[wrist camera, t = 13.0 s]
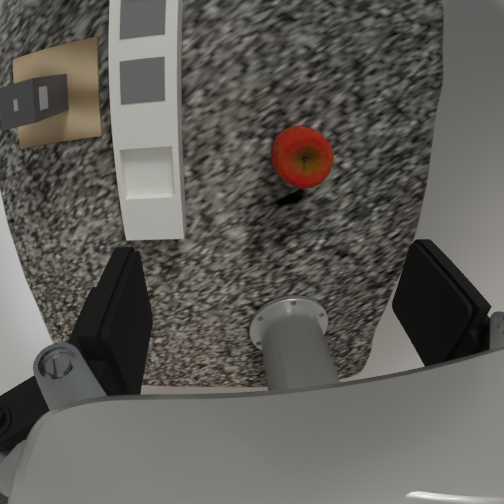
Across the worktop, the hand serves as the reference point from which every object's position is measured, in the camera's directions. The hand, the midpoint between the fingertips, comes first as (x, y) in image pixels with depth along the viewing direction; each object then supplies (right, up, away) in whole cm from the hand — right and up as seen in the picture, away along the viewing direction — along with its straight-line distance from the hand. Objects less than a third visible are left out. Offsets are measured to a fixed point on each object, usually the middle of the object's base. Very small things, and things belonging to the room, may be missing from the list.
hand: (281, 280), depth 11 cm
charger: (-24, +19, +18) cm, 36 cm away
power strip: (-12, +21, +19) cm, 30 cm away
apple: (+4, +13, +26) cm, 29 cm away
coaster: (-24, +19, +19) cm, 36 cm away
